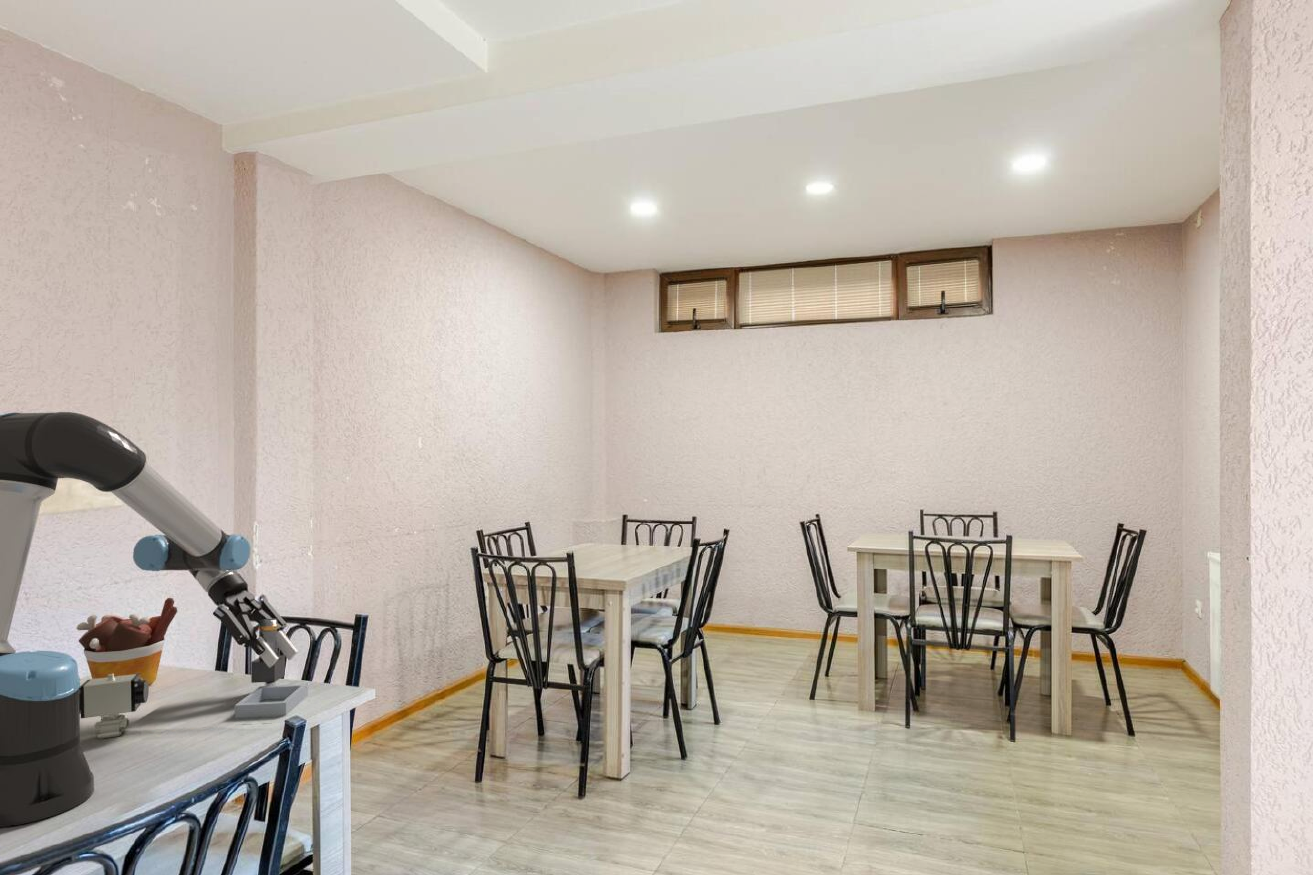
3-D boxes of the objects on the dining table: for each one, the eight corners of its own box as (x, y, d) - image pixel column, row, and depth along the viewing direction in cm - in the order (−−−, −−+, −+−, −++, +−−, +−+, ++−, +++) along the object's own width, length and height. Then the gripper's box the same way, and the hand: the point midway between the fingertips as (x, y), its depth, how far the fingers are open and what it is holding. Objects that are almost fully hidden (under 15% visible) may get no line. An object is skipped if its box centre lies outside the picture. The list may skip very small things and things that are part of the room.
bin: (286, 722, 155) (285, 702, 155) (235, 725, 154) (234, 705, 154) (308, 702, 167) (307, 684, 167) (260, 704, 166) (260, 686, 166)
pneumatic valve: (144, 734, 150) (142, 673, 150) (71, 744, 146) (70, 681, 146) (150, 724, 156) (149, 665, 156) (81, 734, 151) (79, 673, 151)
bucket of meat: (71, 704, 169) (70, 614, 169) (81, 684, 183) (80, 601, 183) (178, 687, 179) (176, 603, 179) (179, 670, 194) (178, 591, 194)
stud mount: (280, 702, 167) (280, 683, 167) (247, 704, 166) (246, 684, 166) (292, 692, 174) (292, 673, 174) (260, 693, 173) (260, 675, 173)
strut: (274, 681, 167) (274, 622, 168) (251, 682, 167) (251, 623, 168) (284, 675, 172) (284, 617, 173) (262, 675, 172) (262, 618, 173)
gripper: (244, 587, 183) (303, 659, 179) (179, 602, 166) (241, 682, 161) (262, 565, 182) (322, 638, 178) (198, 578, 165) (262, 658, 160)
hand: (283, 659), depth 169 cm, fingers closed on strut, 5 cm apart
